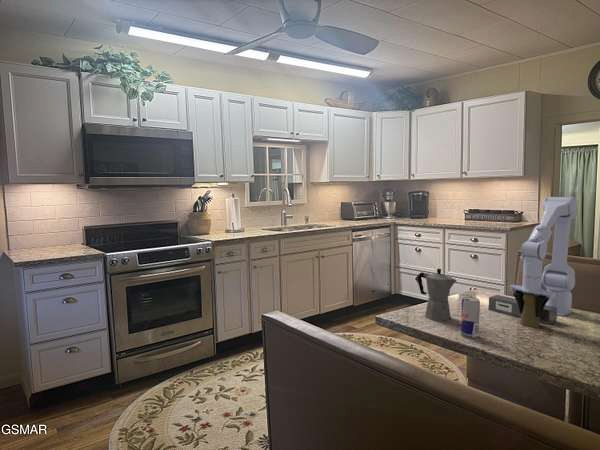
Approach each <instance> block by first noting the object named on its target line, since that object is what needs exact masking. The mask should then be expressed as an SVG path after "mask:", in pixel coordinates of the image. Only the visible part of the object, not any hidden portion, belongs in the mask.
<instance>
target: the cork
mask: <svg viewBox="0 0 600 450" xmlns="http://www.w3.org/2000/svg"><path fill="white" fill-rule="evenodd" d="M535 297H539V296H537V295H535V294H531V293H524V295H523V301H524V306H523V311H522V316H521V318H520V321H519V324H520V325H522V326H523V327H529V328H539V327H540V326H541V323H540V322H539V317H536V300H535Z"/></svg>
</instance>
